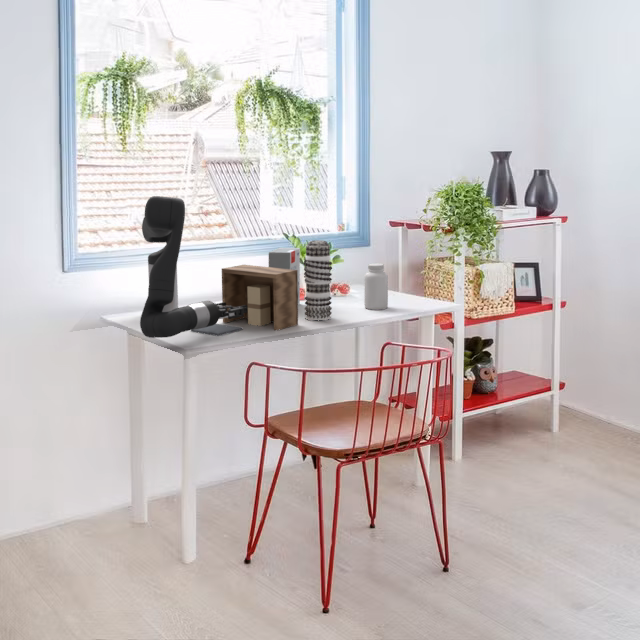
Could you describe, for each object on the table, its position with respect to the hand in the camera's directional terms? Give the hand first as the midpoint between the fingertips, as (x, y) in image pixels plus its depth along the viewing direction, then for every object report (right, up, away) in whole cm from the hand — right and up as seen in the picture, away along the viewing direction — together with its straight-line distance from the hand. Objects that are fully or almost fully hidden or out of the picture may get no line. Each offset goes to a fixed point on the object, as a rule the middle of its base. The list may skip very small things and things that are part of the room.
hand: (235, 307), depth 290 cm
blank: (+6, -5, +10) cm, 13 cm away
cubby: (+6, -5, +10) cm, 13 cm away
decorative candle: (+25, -4, +18) cm, 31 cm away
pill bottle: (+45, 0, +36) cm, 57 cm away
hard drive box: (+13, 0, +37) cm, 40 cm away
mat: (-6, -7, 0) cm, 9 cm away
